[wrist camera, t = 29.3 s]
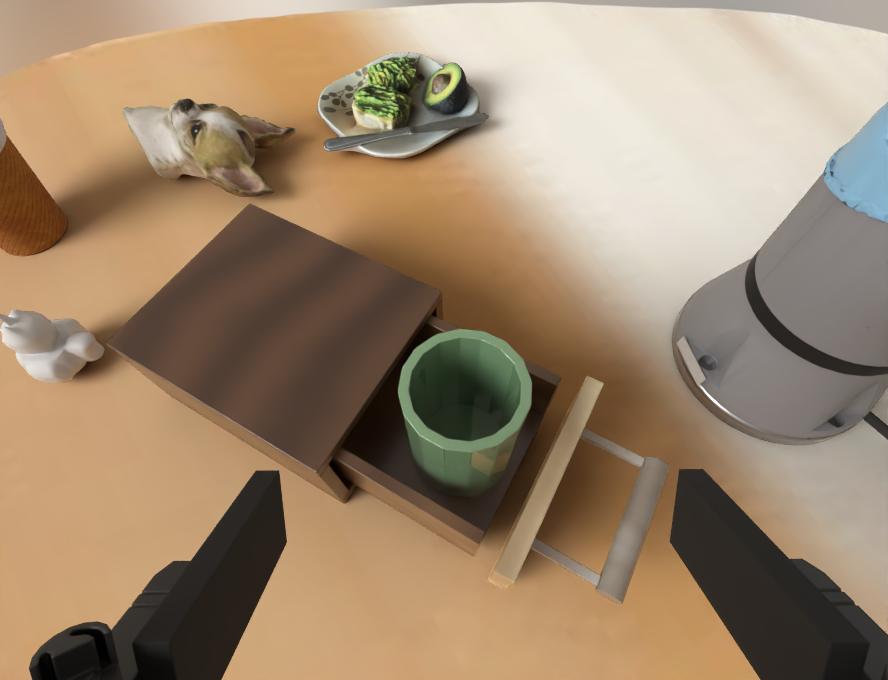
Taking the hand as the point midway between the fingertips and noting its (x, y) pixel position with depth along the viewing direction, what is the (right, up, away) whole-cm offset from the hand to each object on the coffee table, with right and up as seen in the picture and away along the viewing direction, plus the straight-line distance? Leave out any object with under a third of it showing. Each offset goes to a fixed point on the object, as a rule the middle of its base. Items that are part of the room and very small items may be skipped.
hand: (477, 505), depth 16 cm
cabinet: (-13, +3, +26) cm, 29 cm away
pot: (0, -2, +20) cm, 20 cm away
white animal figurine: (-33, +3, +27) cm, 42 cm away
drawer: (+2, -4, +21) cm, 21 cm away
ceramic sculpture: (-25, +24, +38) cm, 51 cm away
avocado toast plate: (-6, +32, +43) cm, 54 cm away
